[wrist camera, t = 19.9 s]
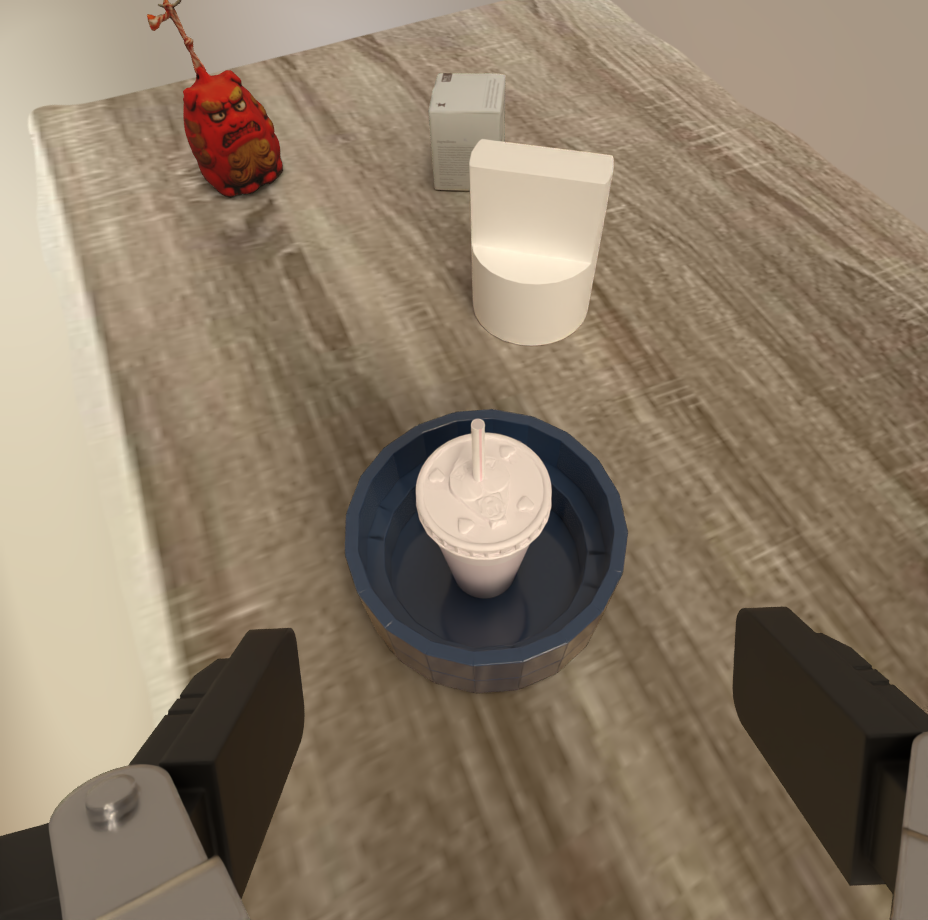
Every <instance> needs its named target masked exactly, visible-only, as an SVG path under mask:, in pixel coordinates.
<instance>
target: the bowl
mask: <svg viewBox="0 0 928 920" xmlns="http://www.w3.org/2000/svg"><path fill="white" fill-rule="evenodd" d="M475 419H481V420H483V421H484V423H485V433H495V434H501V435H505V436H508V437H511V438H513V439H515V440H517V441H519V442H521V443H523V444H524V445H526V446H527V447H529V448H530V449H531V450H532V451H533V452H534V453H535V454H536V455H537V456H538V457H539V458H540V459H541V461H542V462H543V464H544V466H545V467H546V469H547V472H548V474H549V477H550V481H551V489H552V495H551V505H552V506H551V510H550V514H549V518H548V521H547V523H546V525H545V526H544V528H543V530H542V531H541V533H540V535H539V536H538V537H537V538H536V539H535V540H534V541H533V542H532V543H530V544H529V547H528V549H527V551H526V553H525V556H524V558H523V560H522V562H521V564H520V567H519V569H518V571H517V573H516V575H515V578H514V580H513V582H512V584H511V585H510V587H509V588H508V589H507V590H506V591H505V592H503V593H502V594H500V595H498V596H496V597H492V598H476V597H473V596H471V595H469V594H467V593H466V592H464V591H463V590H462V589H461V588H460V587H459V586H458V584H457V582H456V580H455V578H454V576H453V574H452V572H451V570H450V568H449V566H448V564H447V561H446V559H445V557H444V555H443V553H442V551H441V549H440V547H439V545H438V544H437V543H436V542H435V541H434V540H433V539H432V538H431V537H430V536H429V535H428V534H427V532H426V530H425V529H424V527H423V525H422V523H421V522H420V520H419V515H418V511H417V507H416V483H417V479H418V475H419V473H420V470H421V468H422V466H423V465H424V463H425V461H426V460H427V459H428V457H429V456H430V455H431V454H432V453H433V452H434V451H435V450H436V449H437V448H439V447H440V446H442V445H443V444H445V443H446V442H448V441H450V440H452V439H454V438H457V437H459V436H463V435H467V434H471V423H472V421H473V420H475ZM627 537H628V530H627V526H626V521H625V517H624V512H623V508H622V504H621V499H620V495H619V493H618V491H617V489H616V487H615V486H614V484H613V483H612V481H611V479H610V478H609V476H608V474H607V473H606V471H605V470H604V468H603V466H602V465H601V463H600V461H599V460H598V459H597V458H596V457H595V456H594V455H593V454H592V453H591V452H589V451H588V450H587V449H586V448H585V447H584V446H583V445H581V444H580V443H579V442H578V441H577V440H576V439H575V438H573V437H572V436H571V435H570V434H568V433H567V432H565V431H563V430H561V429H559V428H557V427H555V426H552V425H550V424H548V423H546V422H544V421H542V420H540V419H538V418H535V417H532V416H528V415H522V414H517V413H511V412H506V411H500V410H493V409H488V410H475V411H461V412H454V413H451V414H448V415H445V416H442V417H439V418H436V419H433V420H430V421H427V422H424V423H421V424H419V425H418V426H415V427H413V428H412V429H410V430H409V431H408V432H406V433H405V434H403V435H402V436H400V437H399V438H397V439H396V440H394V441H393V442H391V443H390V444H389V445H387V446H386V447H384V448H383V450H382V451H381V452H380V453H379V454H378V456H377V457H376V458H375V459H374V461H373V462H372V463H371V464H370V466H369V467H368V468H367V469H366V470H365V472H364V473H363V474H362V475H361V478H360V479H359V482H358V484H357V487H356V489H355V492H354V495H353V497H352V500H351V502H350V505H349V508H348V510H347V513H346V527H345V557H346V560H347V563H348V566H349V569H350V572H351V575H352V578H353V581H354V584H355V587H356V590H357V593H358V595H359V597H360V599H361V601H362V603H363V606H364V608H365V610H366V612H367V614H368V616H369V618H370V620H371V622H372V624H373V626H374V628H375V630H376V631H377V632H378V634H379V635H380V636H381V637H382V639H383V640H384V641H385V643H386V644H387V645H388V646H389V648H390V649H391V650H392V652H393V653H394V654H395V656H396V657H397V658H398V659H399V660H400V661H401V662H403V663H404V664H406V665H407V666H409V667H410V668H412V669H413V670H415V671H417V672H418V673H420V674H421V675H423V676H424V677H426V678H427V679H429V680H430V681H432V682H435V683H437V684H441V685H445V686H449V687H453V688H456V689H460V690H464V691H468V692H472V693H475V692H476V693H486V692H498V691H511V690H518V689H521V688H524V687H526V686H528V685H531V684H533V683H535V682H538V681H540V680H542V679H545V678H547V677H549V676H551V675H554V674H556V673H558V672H559V671H560V670H561V669H562V668H563V667H564V666H565V665H566V664H568V663H569V662H570V661H571V660H572V659H573V658H574V657H575V656H576V655H577V654H578V653H579V652H581V651H582V650H583V649H584V648H585V647H586V646H587V644H588V643H589V641H590V639H591V637H592V635H593V633H594V631H595V629H596V627H597V625H598V623H599V621H600V620H601V618H602V616H603V614H604V612H605V610H606V608H607V606H608V604H609V601H610V599H611V597H612V595H613V593H614V591H615V589H616V587H617V585H618V583H619V580H620V578H621V576H622V574H623V568H624V561H625V553H626V545H627Z"/></svg>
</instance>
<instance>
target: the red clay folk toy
mask: <svg viewBox="0 0 928 920" xmlns="http://www.w3.org/2000/svg"><path fill="white" fill-rule="evenodd" d="M180 2H181V0H178V1H177V2H175V3H174V4H171V3H169V2H168V0H164V1H163V4H158V5H159V6H160V7H163V8H164V9H165V10H166V12H165V14H163V15H158V16H153V15H149V14H148V15H147V17H148V22H149V25H150V27H151V29H152V30H153V31H155V30H156V29H158V28H159V26H160V24H161V22H163V21H166V20H167V19H169V18H171V19H172V20H173V22H174V24H175V25H176V27H177V28H178V30H179V32H180V34H181V36H182V38H183V40H184V44H185V46H186V48H187V49H188V51H189V52H190V55H191V58H192V62H193V66H194V70H195V72H196V81H195V83H194V84H193V85H192V86H191V87H190V88H186V89H185V90H184V91H183V93H184V98H183V101H184V127H185V132H186V136H187V139H188V142H189V145H190V147H191V150H192V152H193V155H194V156H195V158H196V159H197V162H198V165H199V168H200V170H201V173H202V175H203V176H204V177H205V179H206V180H207V181H208V182H209V183H210V184H211V185H212V186H214V188H215V189H217V190H218V192H220V193H221V194H222V195H224V196H228V197H233V196H236V195H241V194H251V193H253V192H254V191H256V190H257V189H258V188H259V186H262V185H265V184H270V183H271V182H273V181H274V180H275V179H276V178H277V177H278V176H279V175H280V174H281V173H282V171H283V167H282V162H281V158H280V146H279V141H278V138H277V136H276V135H275V134H274V126H273V123H272V121H271V120H270V119H269V117H268V116H267V114H266V111H265V109H264V107H263V106H262V105H261V104H260V103H259V102H258V101H257V100H256V99H255V98H254V97H253V96H252V95H251V93H250V92H249V91H248V90H247V89H245V88H244V87H243V86H242V85H241V80H240V78H239V77H238V76H237V75H236V74H234V73H233V72H232V71H229V70H226V71H224V72H222V73H221V74H219V75H214V76H210V75H209V74H208V73H207V72H206V69H205V67H204V66H203V64H202V63H201V61H200V60H199V59H198V57H197V56H196V54H195V53H194V50H193V40H192V39H191V38H189V37H187V36H186V34H185V31H184V29H183V27H182V24H181V22H180V20H179V18H178V16H177V13H176V11H175V9H174V7H175V6H177V5H178V4H180Z"/></svg>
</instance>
